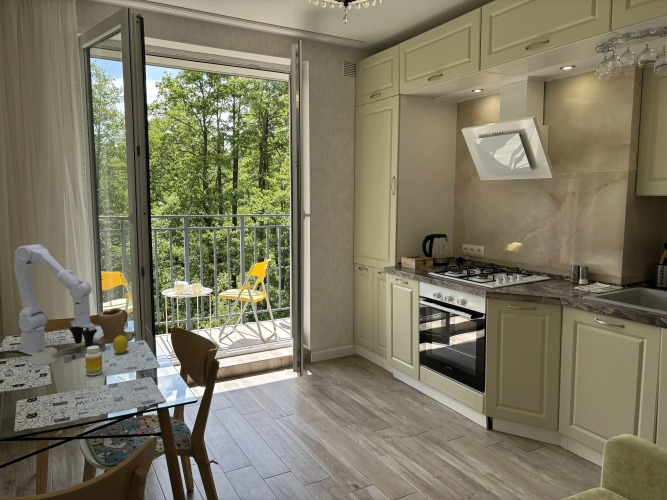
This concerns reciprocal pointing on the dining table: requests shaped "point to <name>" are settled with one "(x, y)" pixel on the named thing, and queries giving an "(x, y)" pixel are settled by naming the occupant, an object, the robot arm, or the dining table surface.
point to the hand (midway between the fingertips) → (83, 344)
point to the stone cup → (113, 325)
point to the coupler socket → (80, 354)
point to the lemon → (120, 344)
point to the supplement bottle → (93, 361)
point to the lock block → (44, 356)
